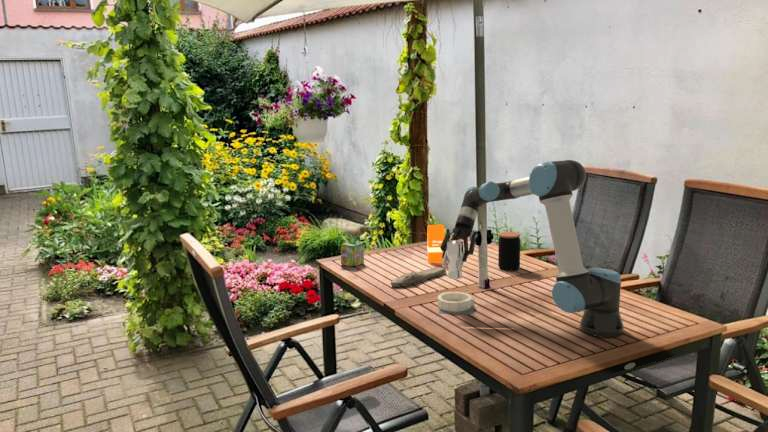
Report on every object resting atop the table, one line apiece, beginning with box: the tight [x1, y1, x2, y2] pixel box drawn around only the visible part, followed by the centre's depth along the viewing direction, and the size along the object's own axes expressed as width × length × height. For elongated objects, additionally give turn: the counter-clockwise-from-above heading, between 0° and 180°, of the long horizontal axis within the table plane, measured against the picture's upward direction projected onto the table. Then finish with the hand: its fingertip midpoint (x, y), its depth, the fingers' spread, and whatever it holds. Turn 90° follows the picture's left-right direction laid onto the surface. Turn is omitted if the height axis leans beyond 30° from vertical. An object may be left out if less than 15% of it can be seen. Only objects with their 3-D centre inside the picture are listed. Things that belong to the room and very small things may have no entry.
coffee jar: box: [498, 231, 521, 272], centre depth 301 cm, size 11×11×18 cm
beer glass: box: [446, 239, 465, 280], centre depth 245 cm, size 7×7×15 cm
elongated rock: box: [390, 266, 447, 288], centre depth 289 cm, size 35×5×10 cm
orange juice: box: [426, 224, 445, 264], centre depth 319 cm, size 8×9×20 cm
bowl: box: [437, 291, 473, 312], centre depth 248 cm, size 14×14×4 cm
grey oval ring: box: [438, 299, 475, 315], centre depth 249 cm, size 18×14×1 cm
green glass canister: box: [340, 236, 365, 267], centre depth 318 cm, size 9×9×15 cm
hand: (451, 266), depth 242 cm, fingers closed on beer glass, 6 cm apart
